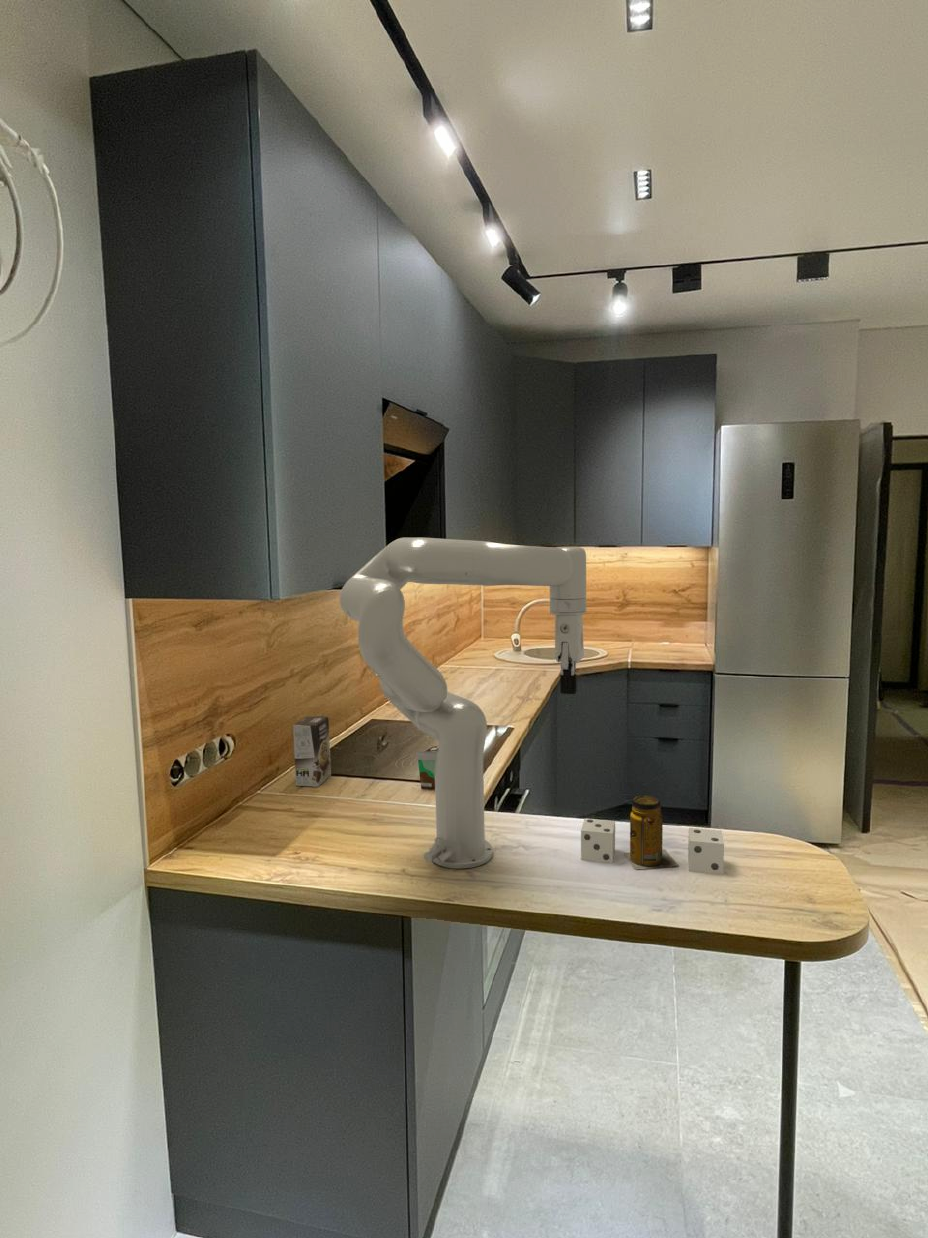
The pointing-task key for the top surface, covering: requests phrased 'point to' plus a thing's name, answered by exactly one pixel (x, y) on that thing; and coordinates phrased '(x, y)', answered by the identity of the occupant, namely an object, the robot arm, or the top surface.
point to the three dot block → (598, 840)
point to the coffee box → (312, 751)
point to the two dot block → (706, 851)
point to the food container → (427, 767)
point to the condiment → (647, 835)
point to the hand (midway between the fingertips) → (568, 692)
